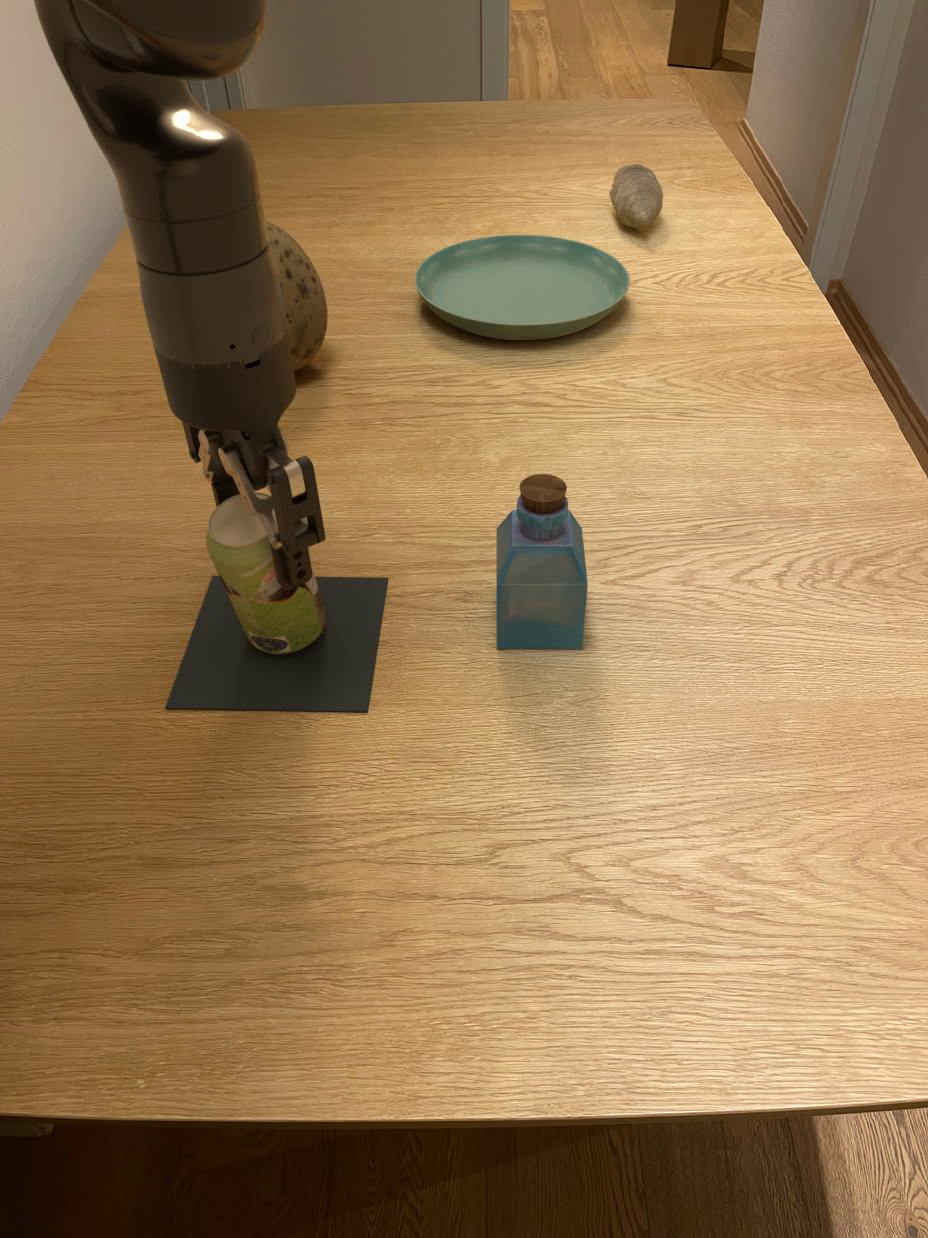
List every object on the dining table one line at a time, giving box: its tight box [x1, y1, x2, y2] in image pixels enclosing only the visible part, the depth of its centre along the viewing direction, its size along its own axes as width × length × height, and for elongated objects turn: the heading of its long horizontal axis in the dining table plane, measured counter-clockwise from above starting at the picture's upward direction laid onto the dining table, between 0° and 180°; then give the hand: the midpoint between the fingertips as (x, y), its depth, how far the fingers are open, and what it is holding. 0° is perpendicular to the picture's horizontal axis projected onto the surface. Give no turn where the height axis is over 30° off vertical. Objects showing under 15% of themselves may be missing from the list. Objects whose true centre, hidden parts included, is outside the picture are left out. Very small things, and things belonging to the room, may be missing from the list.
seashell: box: [608, 163, 664, 229], centre depth 126 cm, size 6×14×8 cm, turn 3°
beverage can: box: [205, 491, 327, 654], centre depth 67 cm, size 6×7×12 cm
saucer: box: [414, 234, 631, 341], centre depth 111 cm, size 24×24×3 cm
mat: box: [164, 575, 389, 713], centre depth 72 cm, size 14×14×1 cm
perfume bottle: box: [495, 473, 589, 650], centre depth 68 cm, size 6×6×12 cm
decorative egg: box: [265, 221, 329, 372], centre depth 96 cm, size 11×11×15 cm
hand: (266, 552), depth 66 cm, fingers open, 8 cm apart
